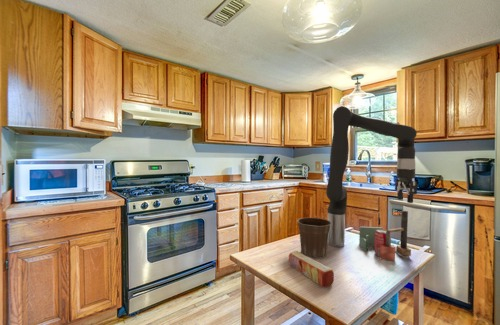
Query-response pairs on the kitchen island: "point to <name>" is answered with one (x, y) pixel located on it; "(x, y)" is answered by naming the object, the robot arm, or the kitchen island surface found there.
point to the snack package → (312, 269)
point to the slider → (389, 251)
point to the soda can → (380, 240)
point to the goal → (367, 236)
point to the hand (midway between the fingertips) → (404, 201)
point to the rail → (400, 254)
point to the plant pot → (314, 236)
